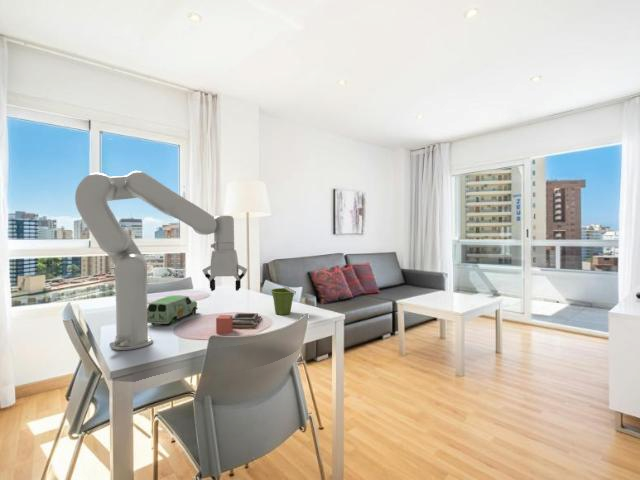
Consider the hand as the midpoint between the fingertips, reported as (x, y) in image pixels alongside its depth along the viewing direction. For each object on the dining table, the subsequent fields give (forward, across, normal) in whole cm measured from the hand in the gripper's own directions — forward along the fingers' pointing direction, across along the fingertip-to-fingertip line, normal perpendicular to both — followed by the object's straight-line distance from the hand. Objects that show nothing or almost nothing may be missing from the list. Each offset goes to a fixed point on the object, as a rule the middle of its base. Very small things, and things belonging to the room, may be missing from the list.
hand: (225, 290), depth 131 cm
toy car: (+16, -29, +18) cm, 38 cm away
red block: (+16, -1, 0) cm, 17 cm away
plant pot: (+17, +19, +29) cm, 39 cm away
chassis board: (+17, +4, +12) cm, 21 cm away
